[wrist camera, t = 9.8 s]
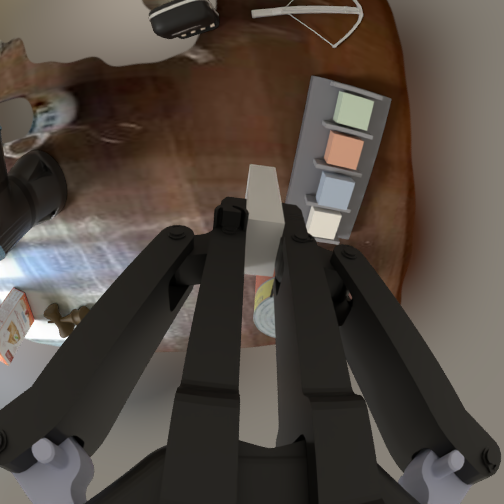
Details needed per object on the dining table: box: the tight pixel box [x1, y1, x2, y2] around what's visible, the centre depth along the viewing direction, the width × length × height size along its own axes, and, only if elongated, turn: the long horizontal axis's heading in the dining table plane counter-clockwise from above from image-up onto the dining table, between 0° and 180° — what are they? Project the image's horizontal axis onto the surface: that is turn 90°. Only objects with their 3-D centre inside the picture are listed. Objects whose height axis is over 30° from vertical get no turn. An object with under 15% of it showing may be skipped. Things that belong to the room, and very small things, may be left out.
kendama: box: [44, 303, 90, 338], centre depth 66 cm, size 6×10×20 cm
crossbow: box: [251, 0, 363, 48], centre depth 28 cm, size 16×13×2 cm
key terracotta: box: [324, 130, 364, 170], centre depth 37 cm, size 4×4×2 cm
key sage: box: [333, 91, 374, 131], centre depth 34 cm, size 4×4×2 cm
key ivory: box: [306, 206, 342, 240], centre depth 44 cm, size 4×4×2 cm
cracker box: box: [0, 288, 34, 366], centre depth 61 cm, size 14×6×21 cm, turn 162°
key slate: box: [316, 171, 355, 210], centre depth 40 cm, size 4×4×2 cm
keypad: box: [285, 76, 391, 245], centre depth 40 cm, size 12×25×5 cm, turn 172°
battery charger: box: [149, 0, 219, 39], centre depth 26 cm, size 7×4×11 cm, turn 105°
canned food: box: [253, 269, 276, 338], centre depth 50 cm, size 11×11×12 cm
